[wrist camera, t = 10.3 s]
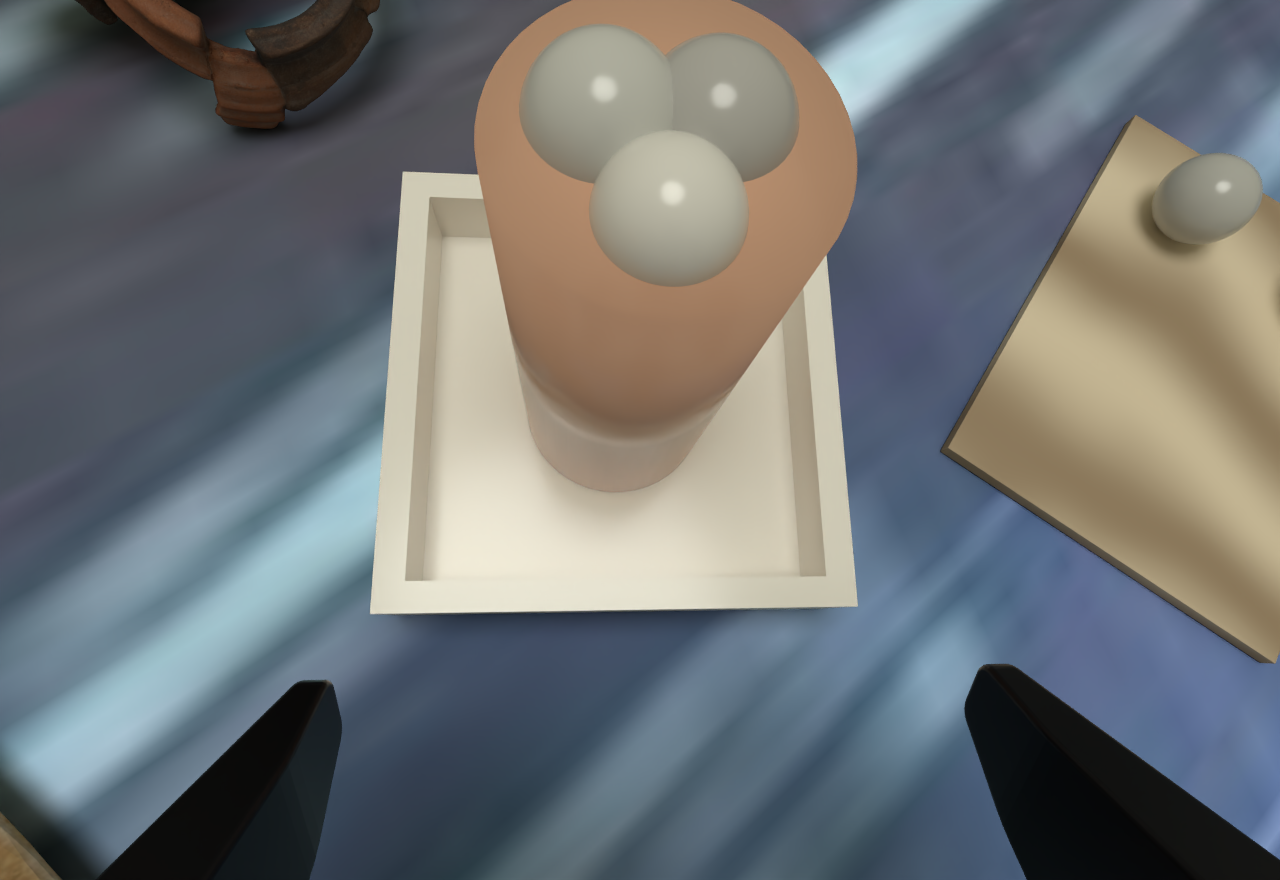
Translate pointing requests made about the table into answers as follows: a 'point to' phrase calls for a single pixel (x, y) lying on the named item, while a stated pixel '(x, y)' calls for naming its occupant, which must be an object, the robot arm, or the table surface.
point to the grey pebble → (1207, 198)
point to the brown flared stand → (20, 856)
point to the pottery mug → (254, 53)
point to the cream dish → (570, 513)
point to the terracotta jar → (652, 217)
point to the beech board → (1148, 399)
